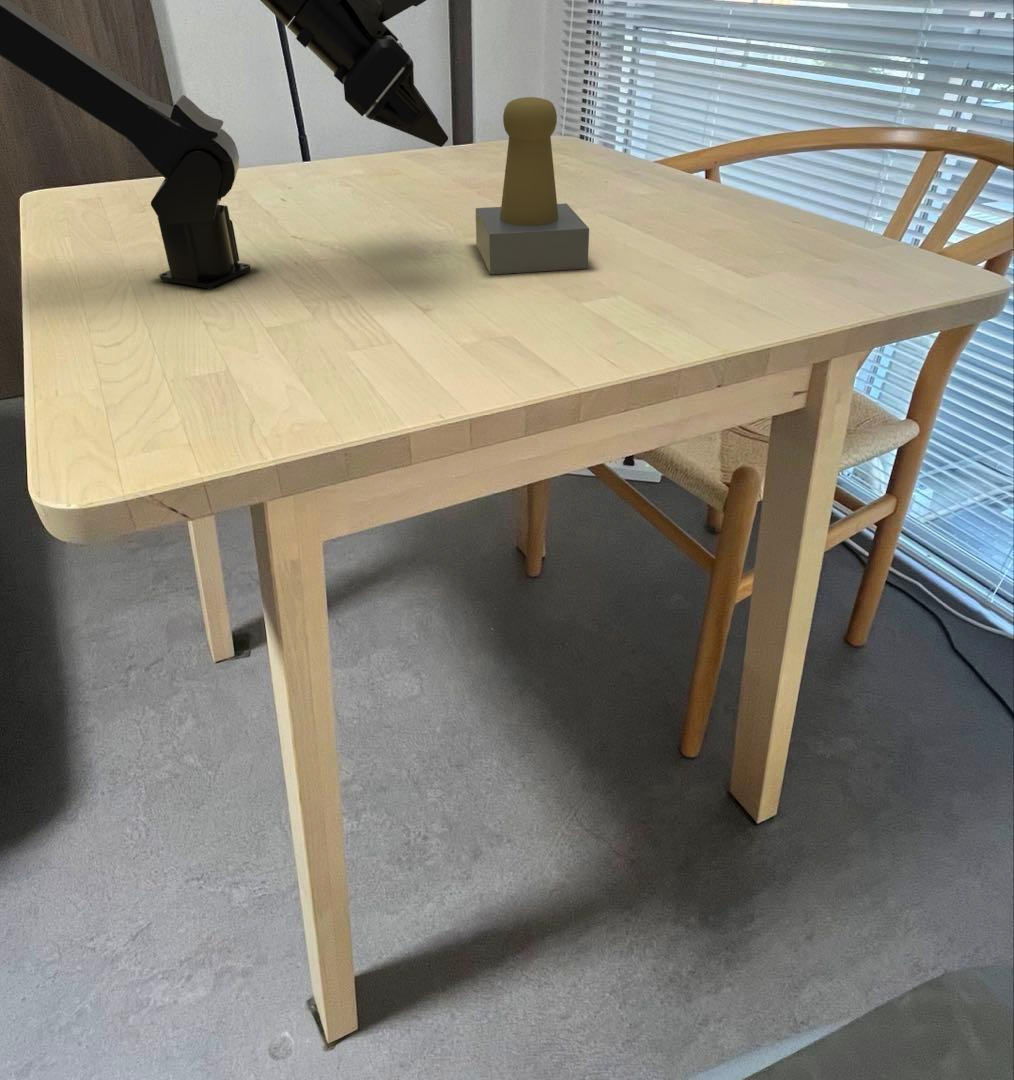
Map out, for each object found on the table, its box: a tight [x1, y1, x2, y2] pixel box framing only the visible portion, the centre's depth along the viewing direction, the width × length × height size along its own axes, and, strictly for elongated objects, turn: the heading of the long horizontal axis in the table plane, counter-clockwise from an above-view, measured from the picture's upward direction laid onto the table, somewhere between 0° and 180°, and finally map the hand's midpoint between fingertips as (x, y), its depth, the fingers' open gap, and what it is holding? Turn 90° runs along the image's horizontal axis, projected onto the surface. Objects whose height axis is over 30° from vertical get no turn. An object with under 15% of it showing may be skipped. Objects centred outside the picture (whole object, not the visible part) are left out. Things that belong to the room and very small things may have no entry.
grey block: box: [475, 203, 590, 275], centre depth 90 cm, size 10×10×4 cm
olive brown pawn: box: [500, 96, 558, 226], centre depth 86 cm, size 6×6×11 cm
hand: (439, 133), depth 83 cm, fingers open, 9 cm apart
